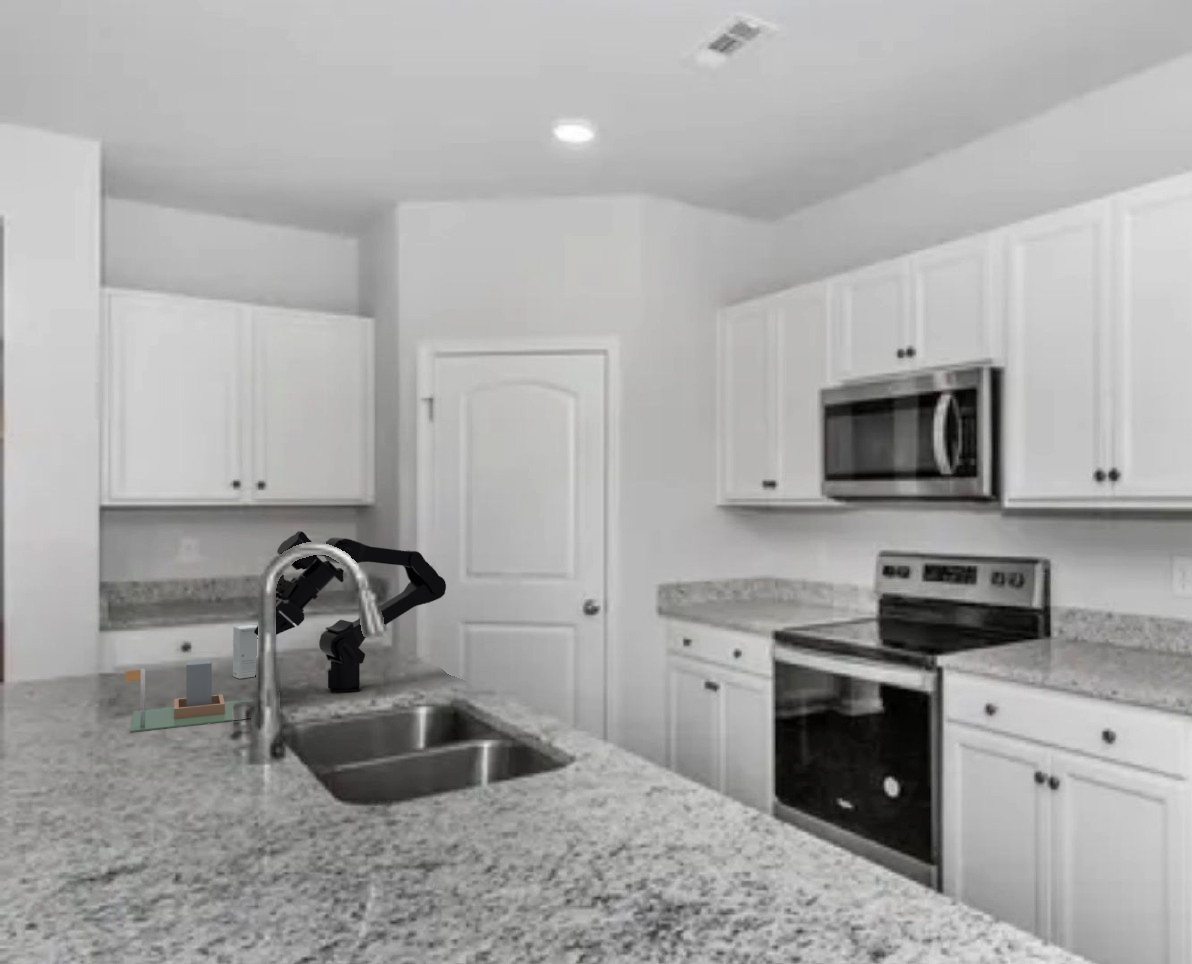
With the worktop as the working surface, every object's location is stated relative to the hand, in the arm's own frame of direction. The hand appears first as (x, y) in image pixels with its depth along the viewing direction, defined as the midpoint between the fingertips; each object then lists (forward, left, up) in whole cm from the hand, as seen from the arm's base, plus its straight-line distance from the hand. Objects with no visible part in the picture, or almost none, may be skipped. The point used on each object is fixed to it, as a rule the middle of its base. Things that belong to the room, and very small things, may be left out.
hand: (257, 636), depth 190 cm
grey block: (+11, +8, -13) cm, 19 cm away
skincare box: (+4, -26, -14) cm, 30 cm away
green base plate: (+11, +10, -14) cm, 20 cm away
